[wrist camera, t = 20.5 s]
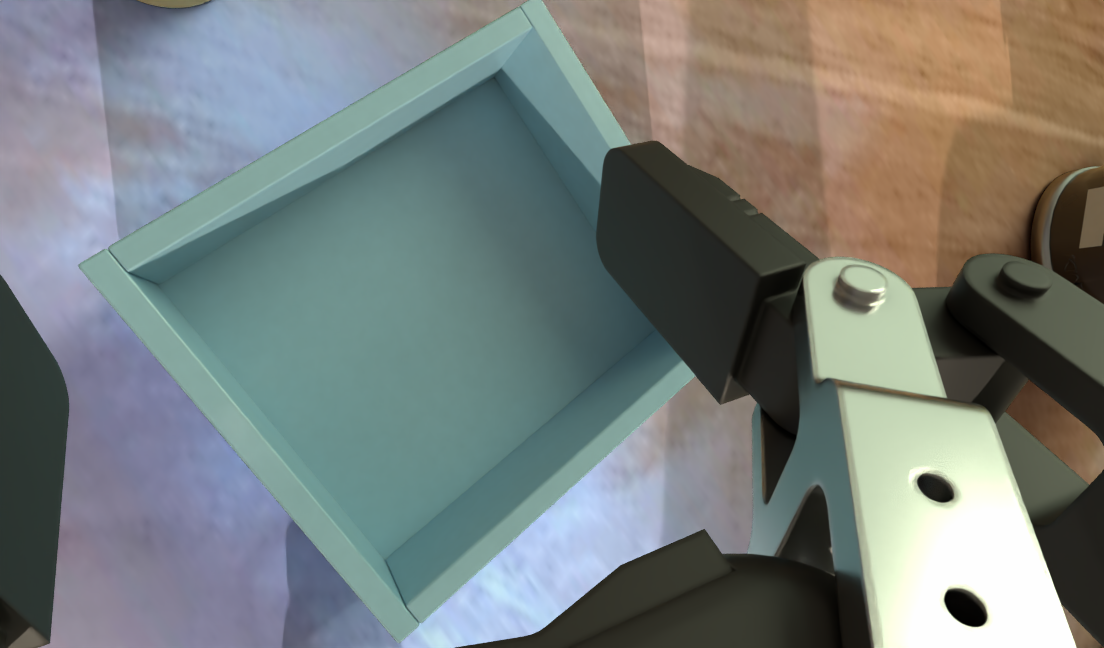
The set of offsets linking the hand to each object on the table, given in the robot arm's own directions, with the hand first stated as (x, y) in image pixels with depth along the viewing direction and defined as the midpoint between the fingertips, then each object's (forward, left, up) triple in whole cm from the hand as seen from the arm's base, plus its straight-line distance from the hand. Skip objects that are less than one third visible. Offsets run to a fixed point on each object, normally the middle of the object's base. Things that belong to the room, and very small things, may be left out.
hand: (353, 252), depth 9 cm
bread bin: (-4, +3, -15) cm, 16 cm away
